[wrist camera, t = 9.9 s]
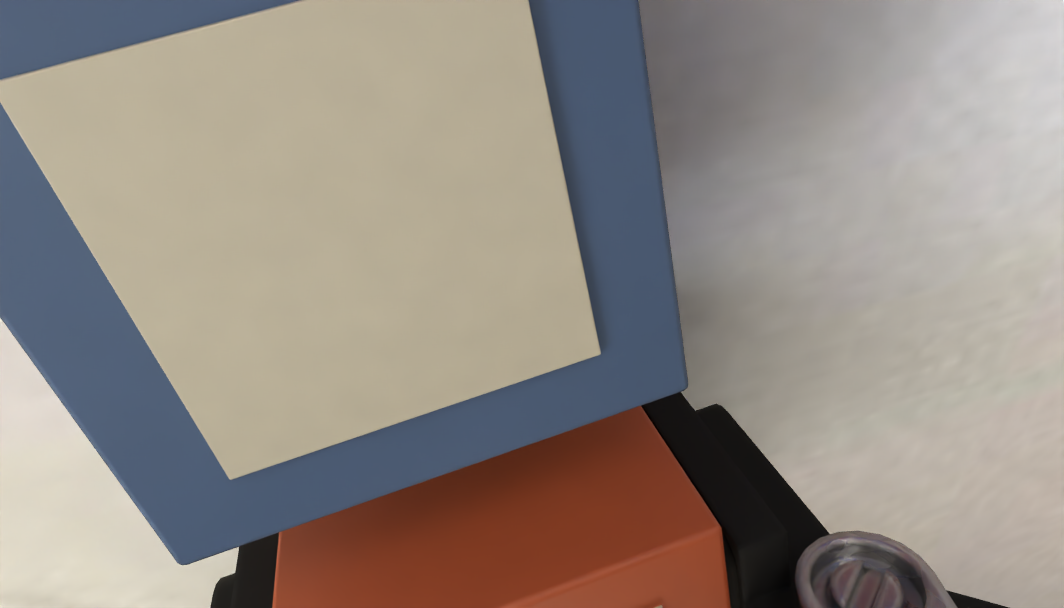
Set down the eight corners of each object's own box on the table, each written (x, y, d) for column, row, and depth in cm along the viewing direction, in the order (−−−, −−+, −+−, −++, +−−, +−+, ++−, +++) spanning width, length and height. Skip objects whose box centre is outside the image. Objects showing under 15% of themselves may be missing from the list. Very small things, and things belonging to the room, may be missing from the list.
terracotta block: (287, 408, 9) (260, 711, 6) (580, 312, 10) (729, 534, 6) (387, 604, 11) (412, 917, 8) (624, 516, 12) (754, 773, 8)
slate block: (54, -49, 7) (-275, -31, 3) (470, -151, 7) (617, -245, 4) (240, 313, 9) (177, 580, 5) (552, 215, 9) (697, 396, 6)
